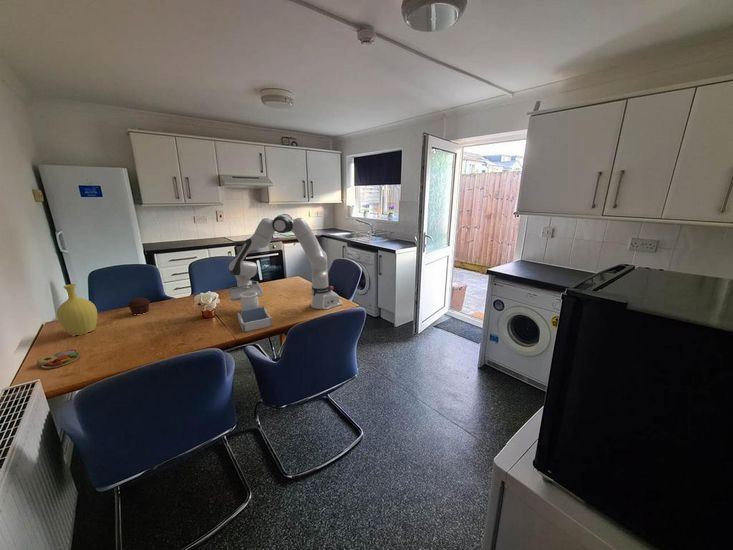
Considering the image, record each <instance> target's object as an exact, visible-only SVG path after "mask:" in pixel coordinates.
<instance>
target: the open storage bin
mask: <svg viewBox="0 0 733 550" xmlns="http://www.w3.org/2000/svg"><path fill="white" fill-rule="evenodd" d="M264 310H265V319H261V320H256V321H251V322H246V323H244V322H243V319H242V315H241V313H240V312H237V321H238V323H239V326H240V328H241V330H242V332H243V333H245V332H246V331H247V332H250V331H254V330H258V329H259V330H261V329H264V328H269V327H272V326H273V318H272V316H271V315H270V313H269V312H268V311H267V309H266V307H264ZM247 332H246V333H247Z"/></svg>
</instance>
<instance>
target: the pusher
mask: <svg viewBox="0 0 733 550" xmlns="http://www.w3.org/2000/svg"><path fill="white" fill-rule="evenodd" d="M264 308H265V306H264V305H263V306H258V307H256V308H250V309H245V310H242V309H240V312H241V313H240V315H241V317H242V319H243V322H244V323H246V322H251V321H256V320H261V319H265V310H264Z"/></svg>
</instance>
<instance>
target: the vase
mask: <svg viewBox="0 0 733 550" xmlns="http://www.w3.org/2000/svg"><path fill="white" fill-rule="evenodd" d="M76 286H77V285H76V284H75V283H71V284H64V285H63V286H62V287H63V288H64V289H65V290H66V292H67V294H68V298H67V299H66V300H65V301H64V302H62V304H60V306H59V307H58V308H57V310H56V318H57V320H58V322H59V323H60V326H61V327H63V329H64V330H65V332H67V333H68V334H69V335H70V336H71V335H80V334H83V333H87V332H90V331H92V330H94V329H95V330H96V327H97V322H98V310H97V307H96V305H95V304H94V303H93V302H92V301H91V300H89V299H86V298H81V297H79V296H77V294H76V293H77V292H76ZM95 330H94V331H95ZM80 336H81V335H80Z"/></svg>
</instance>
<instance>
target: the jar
mask: <svg viewBox="0 0 733 550" xmlns="http://www.w3.org/2000/svg"><path fill="white" fill-rule="evenodd" d="M240 297H241V300H240V307H241V310H245V309H250V308H256V307H259V297H257V292H253V291H250V292H244V293H242V294H240Z"/></svg>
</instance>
